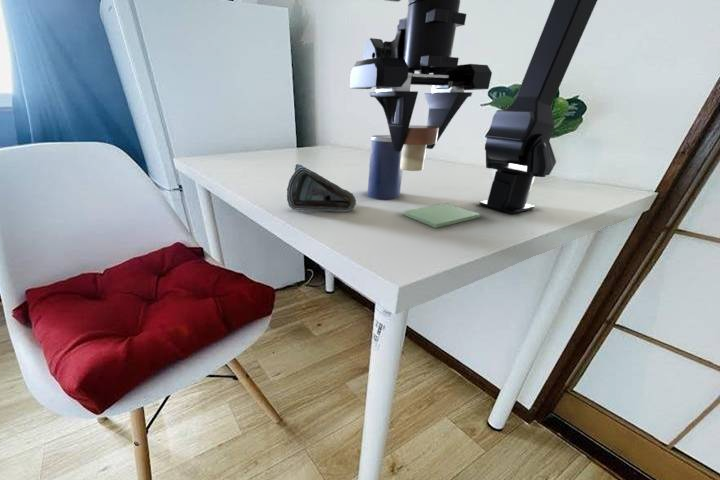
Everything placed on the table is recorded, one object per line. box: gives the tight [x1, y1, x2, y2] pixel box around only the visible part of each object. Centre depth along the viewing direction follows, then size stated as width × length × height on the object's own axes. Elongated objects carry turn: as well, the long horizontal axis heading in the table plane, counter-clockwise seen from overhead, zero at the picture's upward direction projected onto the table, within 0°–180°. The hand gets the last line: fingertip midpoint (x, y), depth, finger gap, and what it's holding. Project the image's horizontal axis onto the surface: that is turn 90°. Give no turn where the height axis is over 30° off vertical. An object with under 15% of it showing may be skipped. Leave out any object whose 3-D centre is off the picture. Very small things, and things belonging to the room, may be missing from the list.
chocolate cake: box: [286, 163, 357, 213], centre depth 56 cm, size 10×7×12 cm
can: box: [367, 134, 404, 200], centre depth 59 cm, size 6×6×11 cm
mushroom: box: [400, 124, 439, 172], centre depth 42 cm, size 6×6×6 cm
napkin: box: [403, 202, 481, 229], centre depth 50 cm, size 10×7×1 cm
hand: (413, 150), depth 42 cm, fingers closed on mushroom, 5 cm apart
